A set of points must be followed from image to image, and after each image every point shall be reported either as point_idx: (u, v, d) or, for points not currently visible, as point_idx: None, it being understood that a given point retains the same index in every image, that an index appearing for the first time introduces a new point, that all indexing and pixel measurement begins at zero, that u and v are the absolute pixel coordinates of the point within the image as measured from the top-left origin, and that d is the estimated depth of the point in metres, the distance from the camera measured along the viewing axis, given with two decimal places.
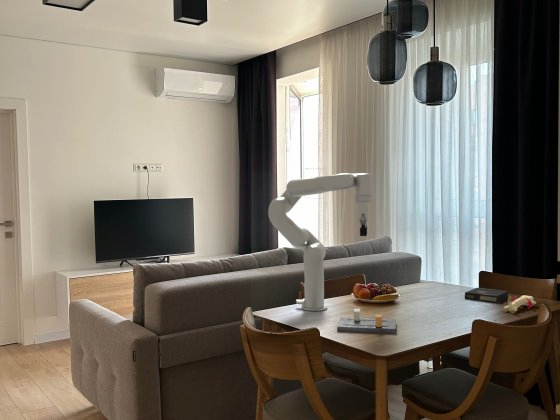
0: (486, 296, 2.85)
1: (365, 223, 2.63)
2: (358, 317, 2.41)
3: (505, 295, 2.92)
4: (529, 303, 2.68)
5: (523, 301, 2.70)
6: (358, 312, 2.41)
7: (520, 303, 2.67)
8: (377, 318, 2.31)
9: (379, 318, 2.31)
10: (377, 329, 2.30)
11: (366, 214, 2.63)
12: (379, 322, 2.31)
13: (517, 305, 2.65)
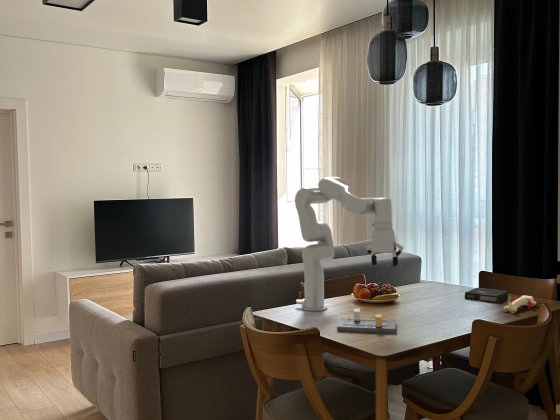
0: (486, 296, 2.85)
1: None
2: (358, 317, 2.41)
3: (505, 295, 2.92)
4: (529, 303, 2.68)
5: (523, 301, 2.70)
6: (358, 312, 2.41)
7: (520, 303, 2.67)
8: (377, 318, 2.31)
9: (379, 318, 2.31)
10: (377, 329, 2.30)
11: (395, 242, 2.42)
12: (379, 322, 2.31)
13: (517, 305, 2.65)
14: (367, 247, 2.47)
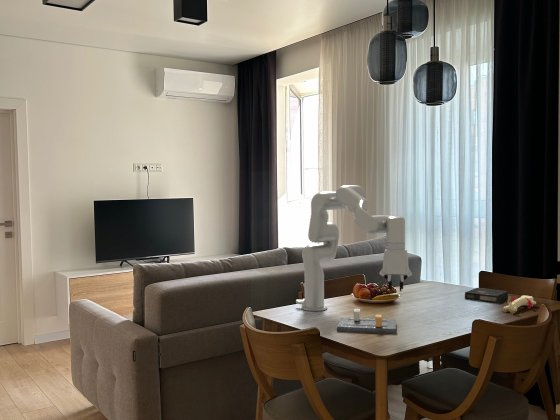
0: (486, 296, 2.85)
1: (403, 276, 2.31)
2: (358, 317, 2.41)
3: (505, 295, 2.92)
4: (529, 303, 2.68)
5: (523, 301, 2.70)
6: (358, 312, 2.41)
7: (520, 303, 2.67)
8: (377, 318, 2.31)
9: (379, 318, 2.31)
10: (377, 329, 2.30)
11: None
12: (379, 322, 2.31)
13: (517, 305, 2.65)
14: (381, 273, 2.31)
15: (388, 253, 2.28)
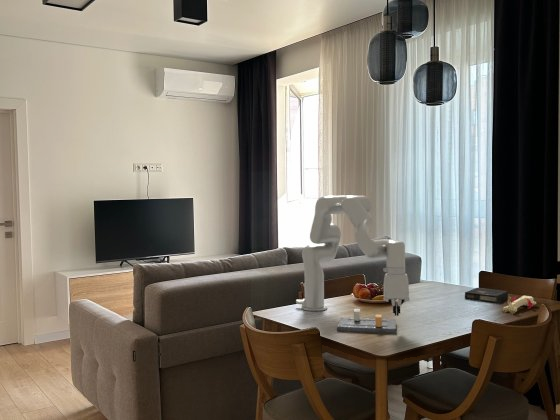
0: (486, 296, 2.85)
1: None
2: (358, 317, 2.41)
3: (505, 295, 2.92)
4: (529, 303, 2.68)
5: (523, 301, 2.69)
6: (358, 312, 2.41)
7: (520, 303, 2.67)
8: (377, 318, 2.31)
9: (379, 318, 2.31)
10: (377, 329, 2.30)
11: None
12: (379, 322, 2.31)
13: (517, 305, 2.65)
14: (385, 299, 2.31)
15: (388, 278, 2.29)
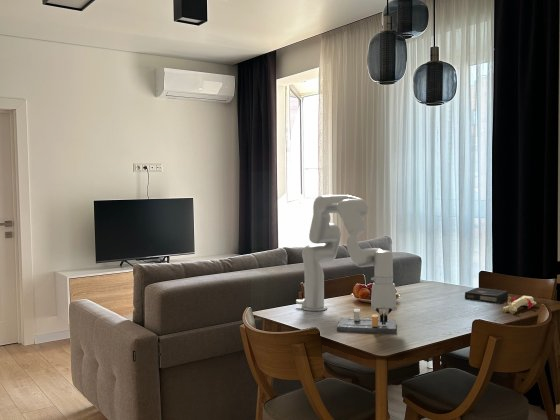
0: (486, 296, 2.85)
1: None
2: (358, 317, 2.41)
3: (505, 295, 2.92)
4: (529, 303, 2.68)
5: (523, 301, 2.69)
6: (358, 312, 2.41)
7: (520, 303, 2.67)
8: (373, 318, 2.31)
9: (376, 318, 2.31)
10: (377, 329, 2.30)
11: None
12: (375, 322, 2.31)
13: (517, 305, 2.65)
14: (373, 308, 2.33)
15: (376, 287, 2.30)
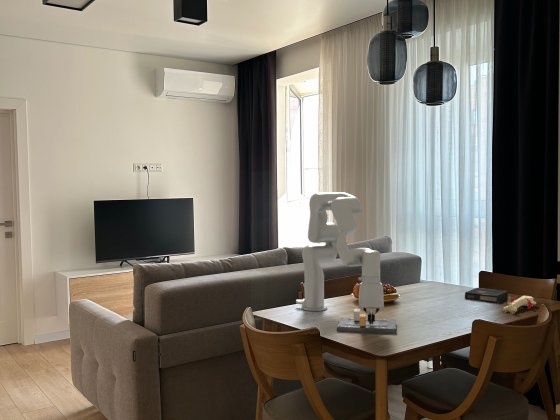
0: (486, 296, 2.85)
1: None
2: (358, 317, 2.41)
3: (505, 295, 2.92)
4: (529, 303, 2.68)
5: (523, 301, 2.69)
6: (358, 312, 2.41)
7: (520, 303, 2.67)
8: (361, 317, 2.32)
9: (363, 317, 2.32)
10: (377, 329, 2.30)
11: None
12: (363, 321, 2.32)
13: (517, 305, 2.64)
14: (360, 307, 2.34)
15: (363, 287, 2.31)
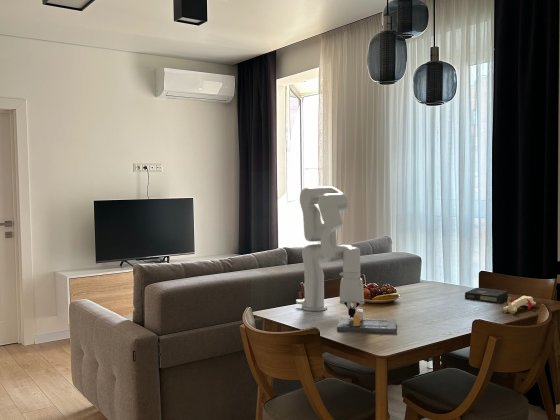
0: (486, 296, 2.85)
1: None
2: (361, 317, 2.41)
3: (505, 295, 2.92)
4: (529, 303, 2.67)
5: (523, 301, 2.69)
6: (361, 312, 2.41)
7: (520, 303, 2.66)
8: (355, 317, 2.33)
9: (357, 317, 2.32)
10: (377, 329, 2.30)
11: None
12: (357, 321, 2.32)
13: (517, 305, 2.64)
14: (341, 302, 2.44)
15: (344, 282, 2.41)
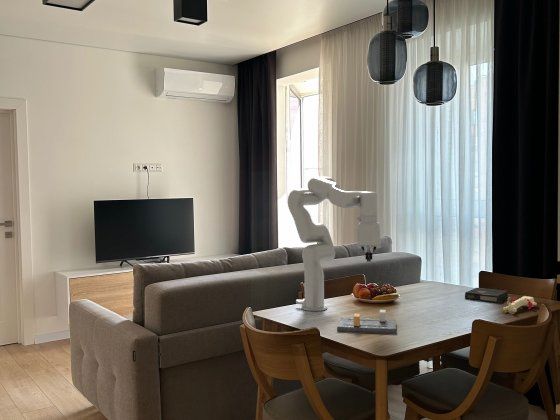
0: (486, 296, 2.85)
1: None
2: (384, 318, 2.39)
3: (505, 295, 2.92)
4: (529, 304, 2.67)
5: (523, 302, 2.68)
6: (384, 313, 2.39)
7: (520, 304, 2.66)
8: (355, 317, 2.33)
9: (357, 317, 2.32)
10: (377, 329, 2.30)
11: None
12: (357, 321, 2.32)
13: (517, 306, 2.63)
14: (358, 246, 2.47)
15: (361, 226, 2.44)
